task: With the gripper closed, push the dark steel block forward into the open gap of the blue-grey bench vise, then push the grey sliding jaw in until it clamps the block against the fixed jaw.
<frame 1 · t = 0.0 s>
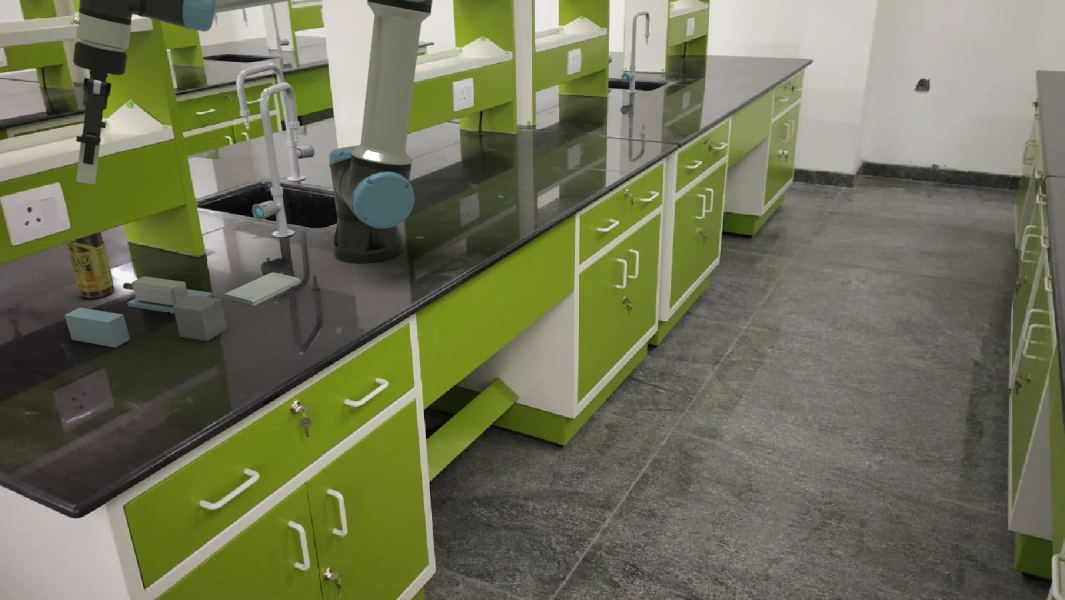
hand: (87, 173, 137), 28 cm above the countertop, tool tilted 20°, fingers open, 13 cm apart
sauce bottle: (99, 294, 160), on the countertop
vise: (134, 321, 148), on the countertop
hard drive: (263, 293, 160), on the countertop
steel block: (204, 333, 143), on the countertop
sliding jaw: (152, 290, 153), point 3 cm above the countertop, slide at 0.0 cm
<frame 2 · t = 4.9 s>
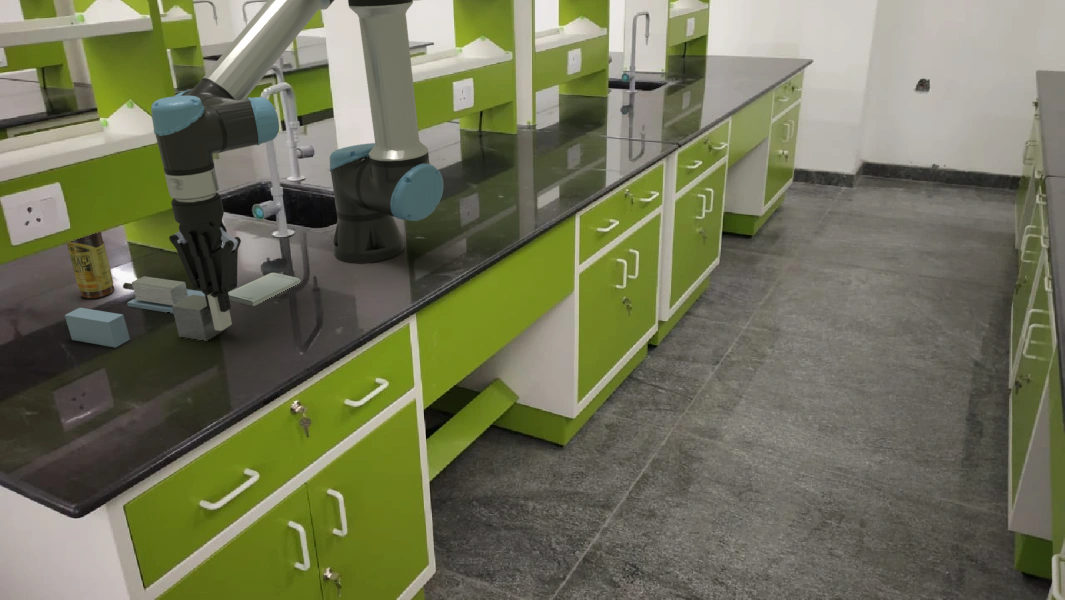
hand: (223, 326, 140), 2 cm above the countertop, tool pointing down, fingers closed
steel block: (202, 333, 143), on the countertop, touching gripper
everything else where it was.
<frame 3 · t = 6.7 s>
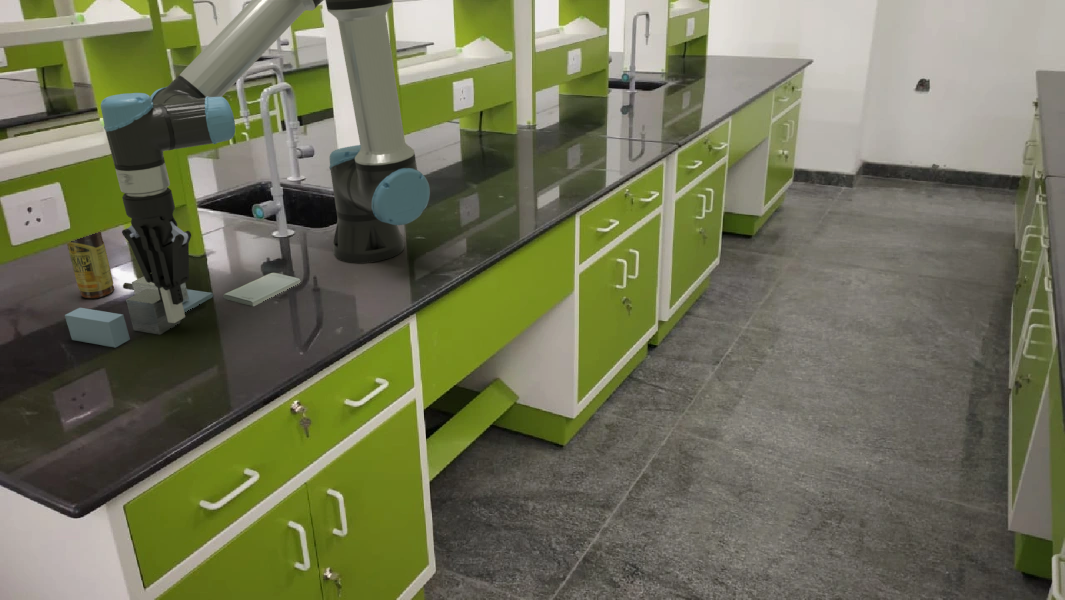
hand: (176, 319, 143), 2 cm above the countertop, tool pointing down, fingers closed
steel block: (157, 326, 146), on the countertop, touching gripper
everything else where it was.
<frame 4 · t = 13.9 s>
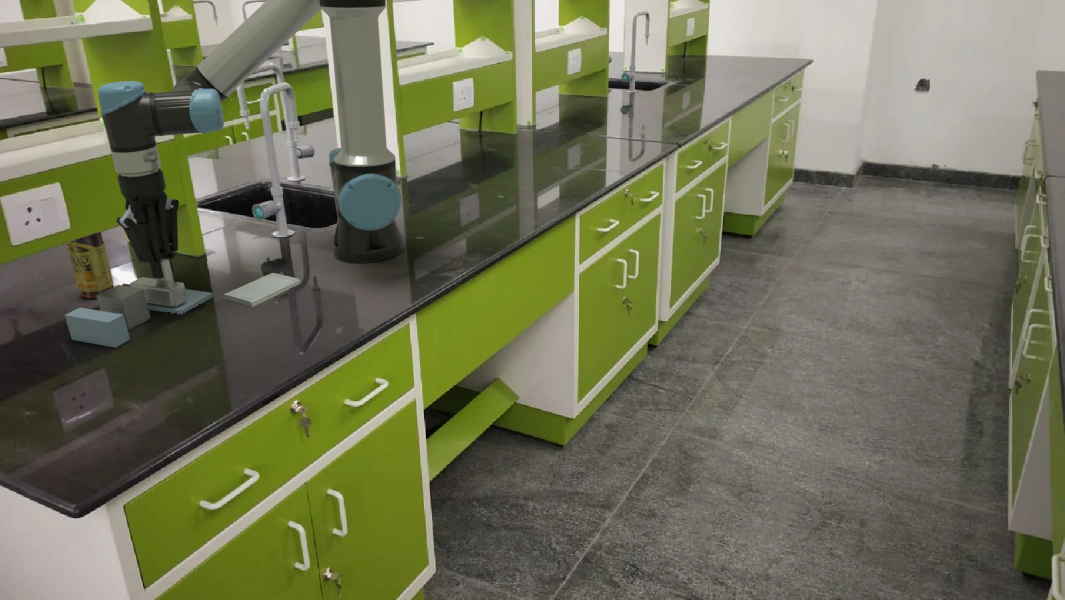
hand: (167, 291, 155), 2 cm above the countertop, tool pointing down, fingers closed
steel block: (127, 322, 148), on the countertop
sliding jaw: (150, 291, 153), point 3 cm above the countertop, slide at 0.4 cm, touching gripper
everything else where it was.
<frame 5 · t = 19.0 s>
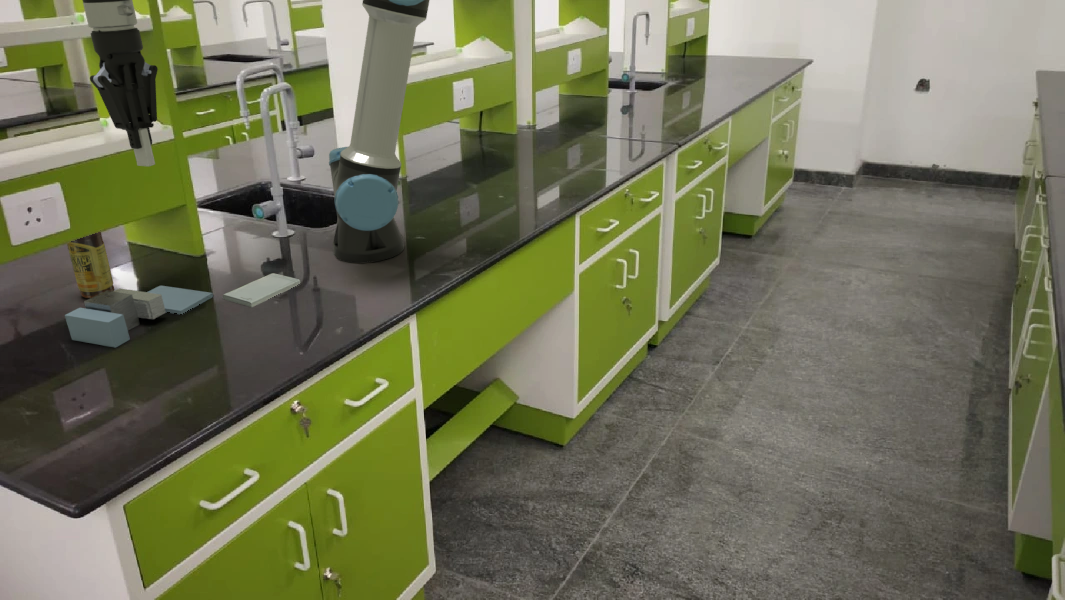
hand: (146, 164, 146), 26 cm above the countertop, tool pointing down, fingers closed
steel block: (116, 328, 146), on the countertop
sliding jaw: (127, 302, 148), point 3 cm above the countertop, slide at 6.0 cm
everything else where it was.
at the end: steel block inside the target area (1.2 cm from its centre), on the countertop; steel block tilted 0°; sliding jaw slide at 6.0 cm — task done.
